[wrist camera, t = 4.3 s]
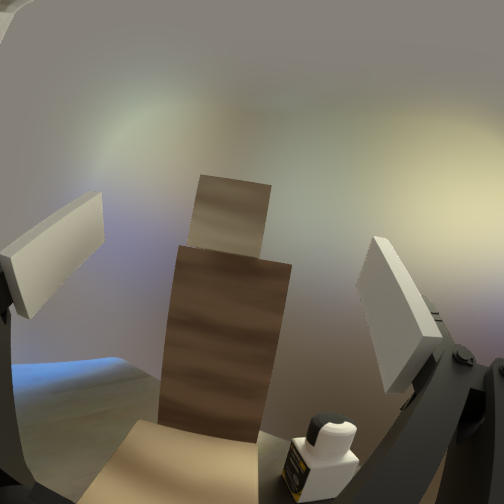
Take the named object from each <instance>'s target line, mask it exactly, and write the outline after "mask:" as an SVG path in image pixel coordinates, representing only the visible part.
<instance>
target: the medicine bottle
mask: <svg viewBox="0 0 504 504" xmlns="http://www.w3.org/2000/svg"><path fill="white" fill-rule="evenodd" d="M356 429H357V428H356V425H355V423H354V422H353V421H352V420H351V419H350V418H348V417H345V416H344V415H341V414H337V413H321V414H317V415H316V416H314V417H313V418H312V419H311V421H310V425H309V428H308V432H307V435H306V438H293V439H292V442H291V445H290V449H289V452H288V455H287V458H286V462H285V465H284V468H283V471H282V475H283V477H284V479H285V481H286V483H287V485H288V487H289V489H290V491H291V493H292V495H293V497H294V499H295V501H296V502H297V503H303V502H310V501H317V500H324V499H330V498H335V497H337V496H338V494H339V493H340V492H341V491H342V490H343V489H344V488H345V486H346V485H347V484H348V483H349V482H350V481H351V478H352V476H353V474H354V472H355V469H356V467H357V465H358V462H359V460H358V459H357V457H356V456H355V455H354V454H353V453H352V452H351V451H350V450H349V448H350V446H351V443H352V440H353V438H354V435H355V432H356Z"/></svg>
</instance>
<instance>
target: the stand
mask: <svg viewBox="0 0 504 504" xmlns="http://www.w3.org/2000/svg"><path fill="white" fill-rule="evenodd" d="M291 268H292V265H290V264H285V263H279V262H273V261H267V260H261V259H255V258H250V257H244V256H238V255H232V254H226V253H220V252H215V251H209V250H203V249H197V248H191V247H186V246H180V245H179V248H178V253H177V259H176V265H175V272H174V278H173V284H172V291H171V299H170V306H169V313H168V320H167V329H166V336H165V345H164V354H163V364H162V374H161V385H160V396H159V410H158V424H159V425H162V426H166V427H170V428H174V429H178V430H182V431H187V432H191V433H196V434H201V435H206V436H211V437H216V438H222V439H228V440H234V441H240V442H247V443H255V444H256V442H257V438H258V433H259V429H260V425H261V420H262V416H263V411H264V407H265V402H266V398H267V393H268V388H269V384H270V378H271V374H272V369H273V364H274V359H275V354H276V349H277V344H278V339H279V334H280V329H281V324H282V318H283V313H284V308H285V302H286V296H287V291H288V285H289V279H290V274H291Z"/></svg>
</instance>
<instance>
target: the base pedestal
mask: <svg viewBox="0 0 504 504" xmlns="http://www.w3.org/2000/svg"><path fill="white" fill-rule="evenodd" d="M76 504H258V444H255V443H247V442H240V441H234V440H228V439H222V438H216V437H211V436H206V435H201V434H196V433H191V432H187V431H182V430H178V429H174V428H170V427H166V426H162V425H159V424H155V423H151V422H148V421H144V420H141V419H139V420H138V421H137V423H136V424H135V426H134V427H133V428H132V430H131V431H130V432H129V434H128V435H127V436H126V438H125V439H124V440H123V442H122V443H121V444H120V446H119V447H118V449H117V450H116V451H115V453H114V454H113V455H112V457H111V458H110V459H109V461H108V462H107V463H106V465H105V466H104V467H103V469H102V470H101V471H100V473H99V474H98V475H97V477H96V478H95V479H94V481H93V482H92V483H91V485H90V486H89V487H88V489H87V490H86V491H85V493H84V494H83V495H82V497H81V498H80V499H79V501H78V502H77V503H76Z"/></svg>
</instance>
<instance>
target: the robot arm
mask: <svg viewBox="0 0 504 504" xmlns="http://www.w3.org/2000/svg"><path fill="white" fill-rule="evenodd" d="M32 1H34V0H0V44H1V41H2V39H3V37H4V35H5V33H6V30H7V28H8V26H9V24H10V22H11V20H12V18H13V16H14V14H15V12H17V10H19V9H20V8H21V7H23V6H24V5H26V4H28V3H30V2H32ZM102 211H103V210H102V193H101V192H96V191H88V192H87V193H85V194H83V195H82V196H80V197H79V198H77V199H75V200H74V201H72V202H70V203H69V204H67V205H66V206H64V207H63V208H61V209H59V210H58V211H57V212H55V213H54V214H52V215H51V216H49V217H48V218H46V219H45V220H43V221H42V222H40V223H39V224H37V225H36V226H35V227H33V228H32V229H30V230H29V231H27V232H26V233H25V234H24V235H22V236H21V237H19V238H18V239H17V240H15V241H14V242H13V243H11V244H10V245H9V246H8V247H6V248H5V249H3V250H2V251H1V252H0V504H75V503H74V502H72V501H71V500H69V499H67V498H65V497H63V496H61V495H59V494H57V493H55V492H53V491H52V490H50V489H48V488H46V487H44V486H43V485H41V484H39V483H38V482H36V481H35V479H34V477H33V475H32V474H31V472H30V470H29V469H28V467H27V465H26V463H25V460H24V456H23V452H22V447H21V442H20V437H19V431H18V425H17V419H16V412H15V404H14V395H13V384H12V370H11V342H10V341H11V340H10V338H11V337H10V336H11V335H10V334H11V313H10V310H9V306H10V305H11V304H12V303H14V306H15V309H16V311H17V314H18V315H20V316H22V317H25V318H27V319H29V320H30V319H31V318H32V317H33V316H34V315H35V314H36V312H37V311H38V310H39V309H40V308H41V307H42V306H43V304H44V303H45V302H46V301H47V300H48V299H49V298H50V297H51V296H52V295H53V293H54V292H55V291H56V290H57V289H58V288H59V287H60V286H61V285H62V284H63V283H64V282H65V281H66V280H67V279H68V278H69V276H71V274H72V273H73V272H74V271H75V270H76V269H77V268H78V267H79V266H80V265H81V264H82V263H83V262H84V261H85V260H86V259H87V258H88V257H89V256H90V255H91V254H92V253H93V252H94V251H96V250H97V248H99V247H100V246H101V245H102V244H103V243H104V242H105V237H104V225H103V212H102ZM356 287H357V290H358V294H359V297H360V300H361V303H362V307H363V310H364V314H365V317H366V320H367V324H368V327H369V331H370V335H371V338H372V342H373V346H374V349H375V353H376V357H377V361H378V365H379V369H380V373H381V377H382V381H383V386H384V390H385V393H388V394H397V393H398V394H403V393H405V391H406V390H407V389H408V387H409V386H410V385H411V383H412V384H413V387H414V391H415V392H414V393H413V394H412V395H411V397H410V398H409V399H408V400H407V402H406V403H405V404H404V405H403V406H402V408H401V409H400V410H401V413H400V414H399V416H398V417H397V419H396V420H395V422H394V423H393V425H392V426H391V428H390V429H389V431H388V432H387V434H386V435H385V437H384V438H383V439H382V441H381V442H380V444H379V445H378V446H377V448H376V449H375V450H374V452H373V453H372V454H371V456H370V457H369V459H368V460H367V461H366V462H365V463H364V465H363V466H362V467H361V469H360V470H359V471H358V472H357V473H356V475H355V476H354V477H353V478H352V479H351V481H350V482H349V483H348V484H347V485H346V486H345V488H344V489H343V490H342V491H341V492H340V493H339V494H338V496H337V497H336V498H335V499H334V500H333V501H332V502H331V503H330V504H419V502H420V500H421V499H422V497H423V495H424V493H425V492H426V490H427V488H428V486H429V484H430V483H431V481H432V479H433V477H434V475H435V473H436V471H437V469H438V467H439V465H440V462H441V461H442V459H443V457H444V454H445V452H446V450H447V448H448V450H447V455H446V460H445V466H444V470H443V475H442V479H441V483H440V487H439V491H438V495H437V498H436V502H435V504H504V359H502V358H496V359H495V360H494V361H493V363H492V364H491V365H490V366H489V367H486V366H483V365H479V364H476V360H475V357H474V355H473V354H472V353H471V352H470V351H469V350H468V349H467V348H466V347H464V346H462V345H460V344H455V343H454V341H453V339H452V337H451V335H450V333H449V331H448V330H447V328H446V326H445V324H444V322H442V318H441V316H440V315H439V313H438V311H437V309H436V307H435V305H434V304H433V303H432V302H431V301H430V300H429V299H428V298H427V297H426V296H421V295H420V293H419V291H418V289H417V287H416V286H415V284H414V282H413V280H412V279H411V277H410V275H409V273H408V272H407V270H406V269H405V267H404V265H403V263H402V262H401V260H400V258H399V257H398V255H397V253H396V252H395V250H394V248H393V247H392V245H391V244H390V242H389V241H388V239H386V238H380V237H375V236H373V238H372V241H371V244H370V247H369V250H368V253H367V255H366V258H365V261H364V264H363V267H362V270H361V273H360V275H359V278H358V281H357V284H356Z"/></svg>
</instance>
